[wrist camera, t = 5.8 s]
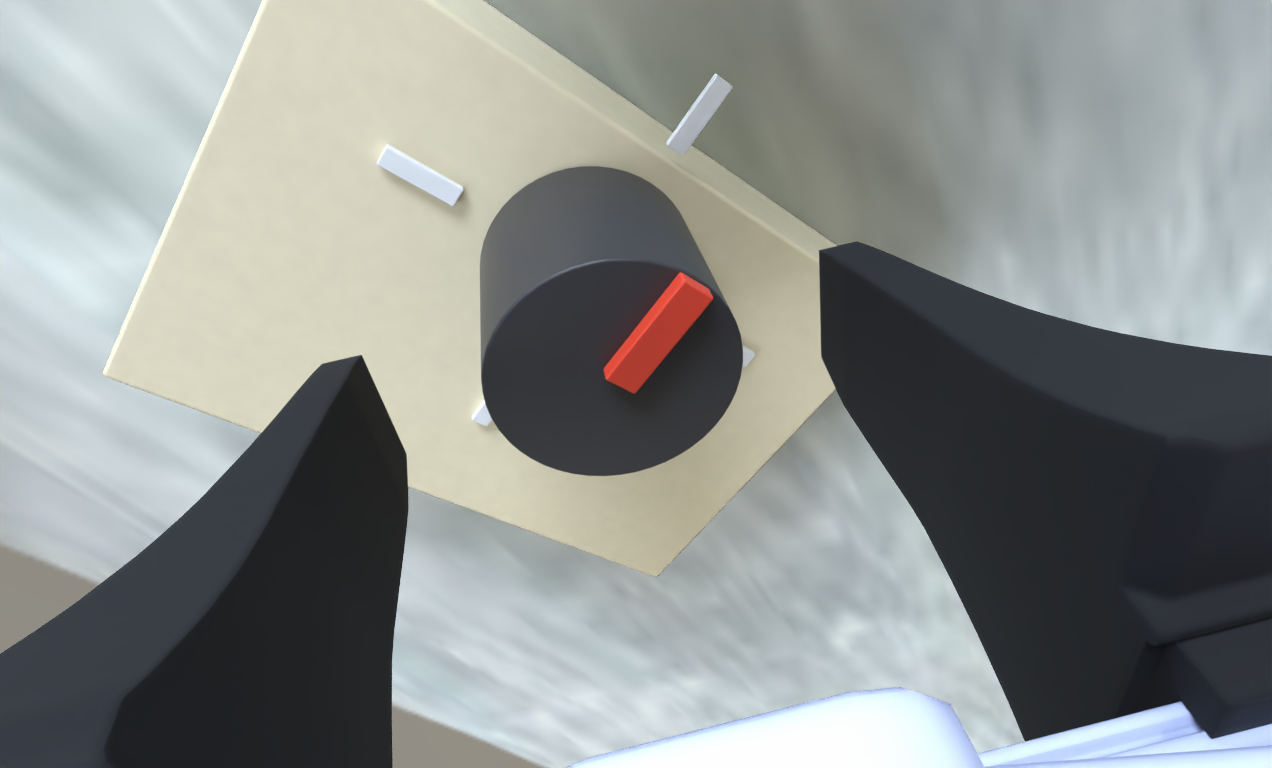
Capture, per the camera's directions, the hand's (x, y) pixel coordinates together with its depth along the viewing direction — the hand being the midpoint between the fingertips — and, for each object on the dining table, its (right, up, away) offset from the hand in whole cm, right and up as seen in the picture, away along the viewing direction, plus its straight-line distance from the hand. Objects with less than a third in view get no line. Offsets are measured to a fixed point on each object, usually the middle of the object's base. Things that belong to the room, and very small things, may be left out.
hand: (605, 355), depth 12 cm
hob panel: (-2, +2, +6) cm, 6 cm away
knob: (0, +2, +2) cm, 3 cm away
